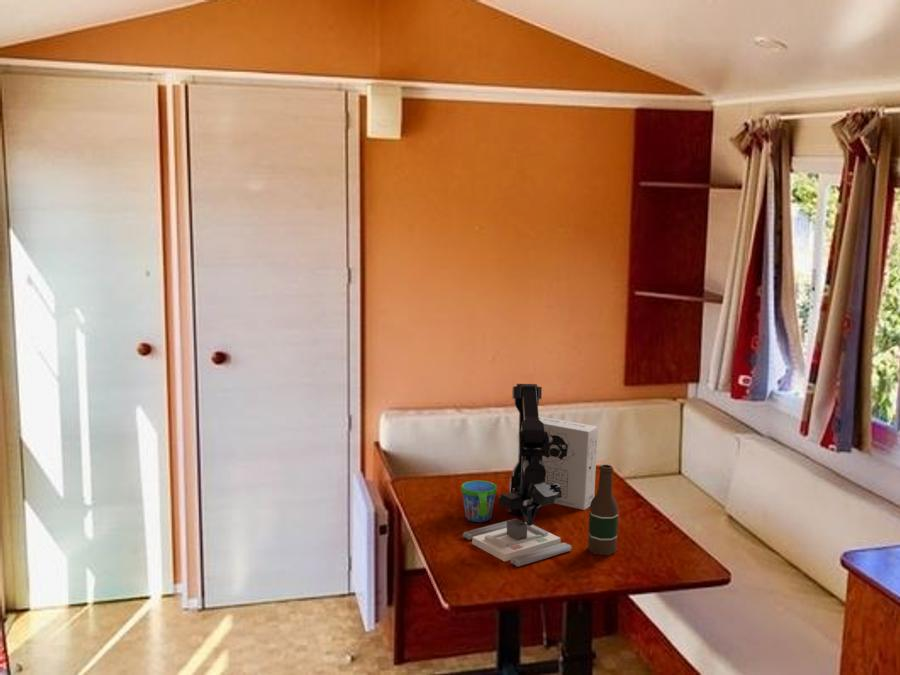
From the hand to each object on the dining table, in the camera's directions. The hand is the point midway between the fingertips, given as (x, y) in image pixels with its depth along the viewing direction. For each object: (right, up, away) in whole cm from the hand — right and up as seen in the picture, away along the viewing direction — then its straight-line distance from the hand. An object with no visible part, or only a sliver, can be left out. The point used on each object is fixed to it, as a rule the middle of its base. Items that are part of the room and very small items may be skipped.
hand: (529, 525), depth 250 cm
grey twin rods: (-4, -5, -2) cm, 6 cm away
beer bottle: (+19, -6, -5) cm, 21 cm away
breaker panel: (-4, -5, -2) cm, 6 cm away
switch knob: (-4, -2, -2) cm, 5 cm away
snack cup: (-14, -2, +17) cm, 22 cm away
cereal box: (+12, +1, +34) cm, 36 cm away
